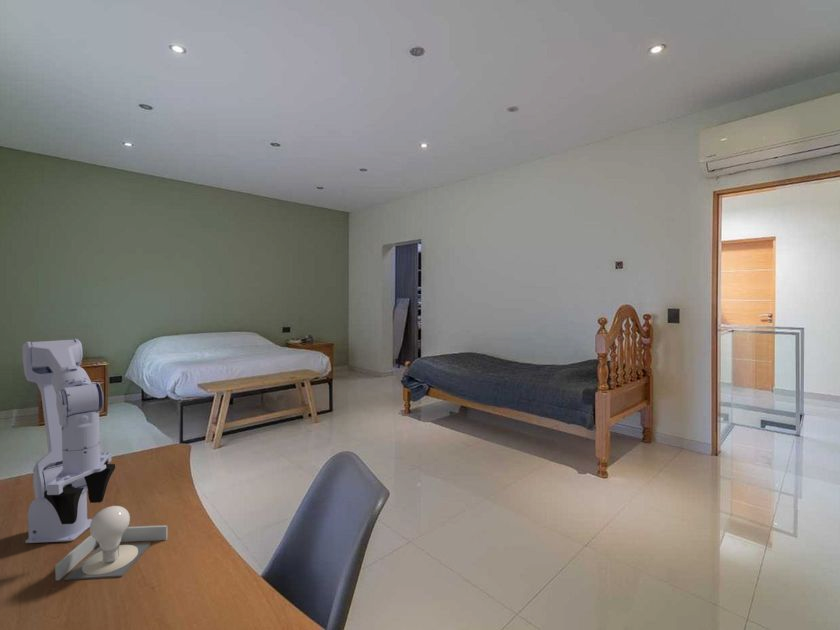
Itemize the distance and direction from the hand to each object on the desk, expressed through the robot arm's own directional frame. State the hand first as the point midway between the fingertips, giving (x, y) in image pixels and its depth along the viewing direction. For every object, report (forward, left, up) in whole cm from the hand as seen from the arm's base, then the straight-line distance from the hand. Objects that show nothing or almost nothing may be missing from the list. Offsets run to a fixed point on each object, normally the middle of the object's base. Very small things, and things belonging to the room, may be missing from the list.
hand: (83, 512), depth 79 cm
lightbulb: (+5, -1, -10) cm, 12 cm away
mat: (+5, 0, -10) cm, 12 cm away
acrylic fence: (+5, +1, -10) cm, 12 cm away
